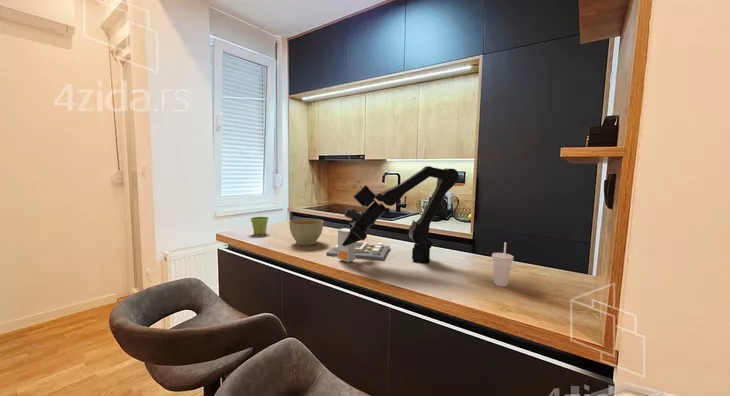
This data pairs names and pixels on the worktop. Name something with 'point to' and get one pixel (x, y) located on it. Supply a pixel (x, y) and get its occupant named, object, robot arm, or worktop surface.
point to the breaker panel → (365, 251)
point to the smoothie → (502, 267)
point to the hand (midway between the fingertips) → (342, 243)
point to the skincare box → (345, 251)
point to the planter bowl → (306, 230)
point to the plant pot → (259, 225)
